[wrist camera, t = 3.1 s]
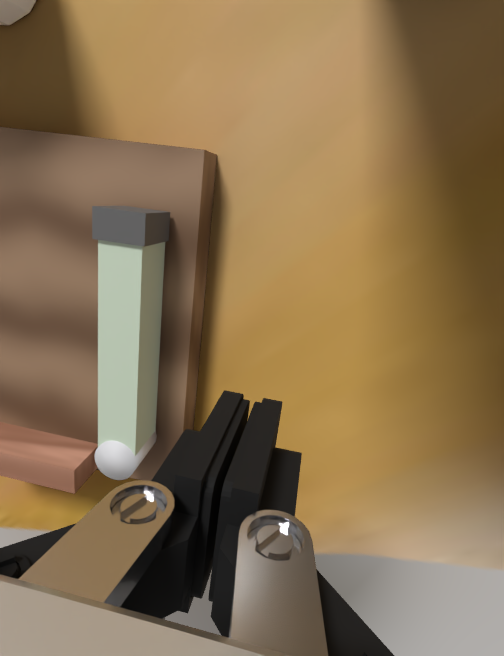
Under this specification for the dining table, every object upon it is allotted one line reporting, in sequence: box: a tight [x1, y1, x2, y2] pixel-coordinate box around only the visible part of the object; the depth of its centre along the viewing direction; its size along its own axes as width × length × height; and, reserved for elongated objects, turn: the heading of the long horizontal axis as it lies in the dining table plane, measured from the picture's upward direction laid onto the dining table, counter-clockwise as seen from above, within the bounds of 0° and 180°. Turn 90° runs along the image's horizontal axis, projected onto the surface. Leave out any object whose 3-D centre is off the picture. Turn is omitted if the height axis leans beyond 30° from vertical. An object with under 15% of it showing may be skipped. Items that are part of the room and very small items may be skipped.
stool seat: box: [0, 127, 217, 494], centre depth 26 cm, size 22×18×6 cm
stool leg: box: [92, 206, 170, 480], centre depth 24 cm, size 16×3×3 cm, turn 173°
